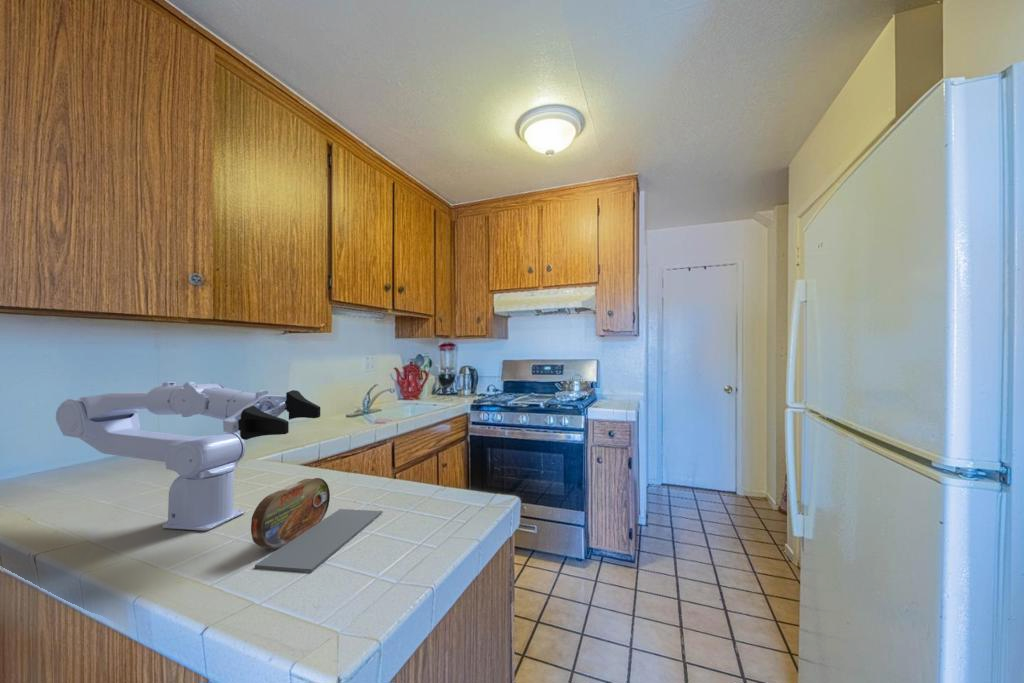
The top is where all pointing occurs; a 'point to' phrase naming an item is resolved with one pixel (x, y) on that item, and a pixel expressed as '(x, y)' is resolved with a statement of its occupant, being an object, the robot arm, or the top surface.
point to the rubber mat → (319, 541)
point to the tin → (289, 512)
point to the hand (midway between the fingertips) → (304, 419)
